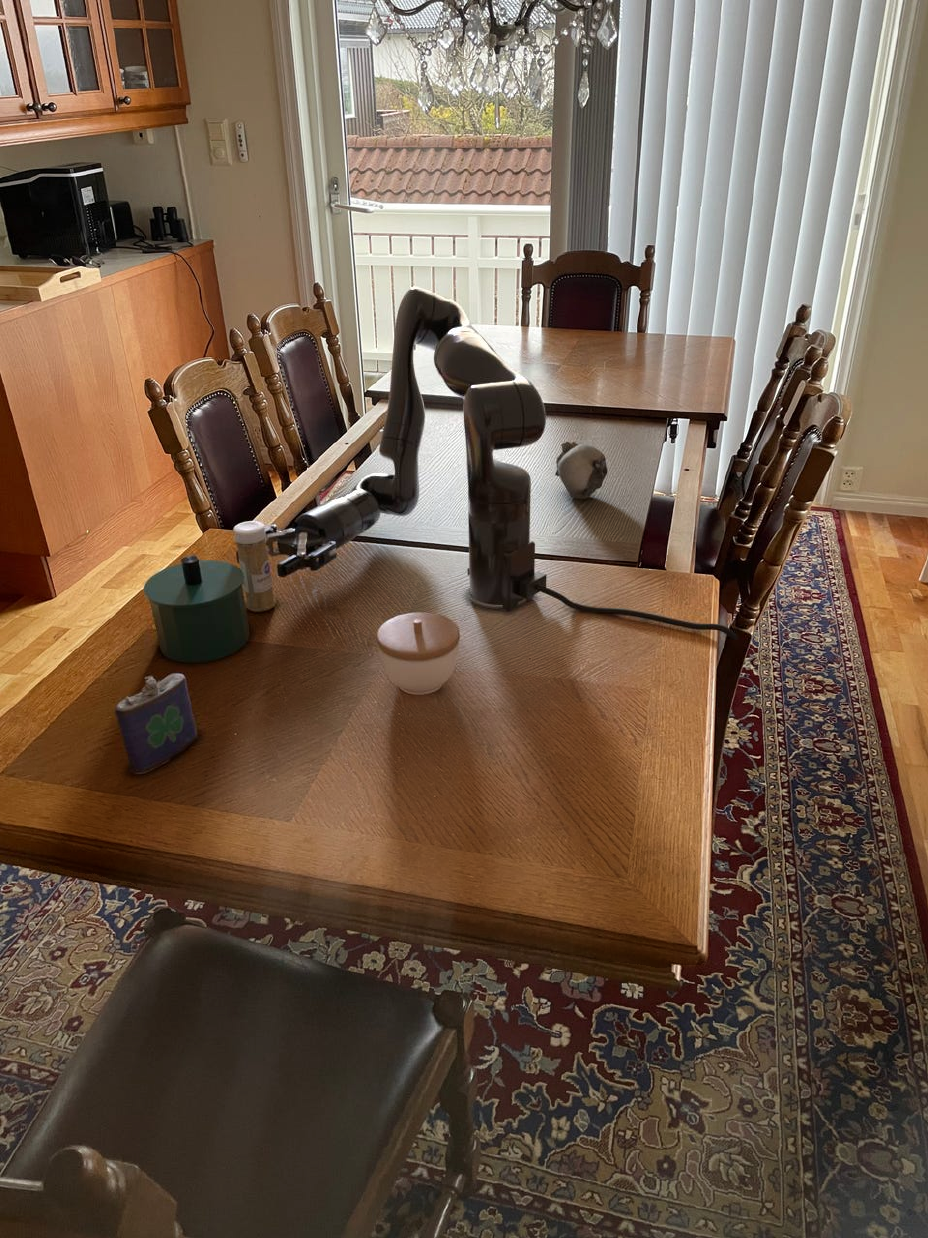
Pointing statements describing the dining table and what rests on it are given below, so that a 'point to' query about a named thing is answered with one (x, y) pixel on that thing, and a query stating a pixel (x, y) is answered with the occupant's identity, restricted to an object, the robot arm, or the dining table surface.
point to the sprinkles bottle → (254, 565)
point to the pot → (202, 629)
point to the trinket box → (419, 651)
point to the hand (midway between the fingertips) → (258, 564)
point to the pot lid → (193, 583)
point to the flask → (156, 723)
